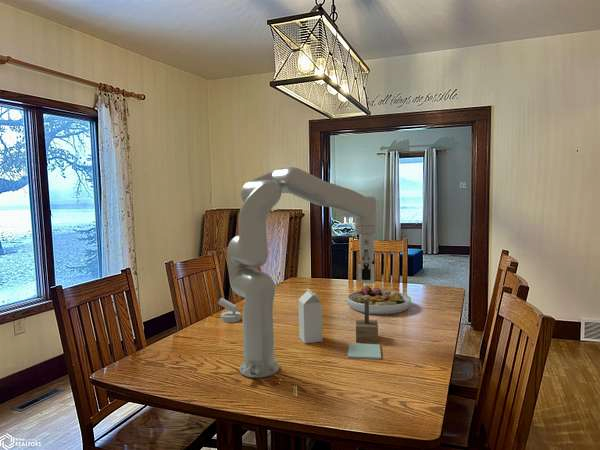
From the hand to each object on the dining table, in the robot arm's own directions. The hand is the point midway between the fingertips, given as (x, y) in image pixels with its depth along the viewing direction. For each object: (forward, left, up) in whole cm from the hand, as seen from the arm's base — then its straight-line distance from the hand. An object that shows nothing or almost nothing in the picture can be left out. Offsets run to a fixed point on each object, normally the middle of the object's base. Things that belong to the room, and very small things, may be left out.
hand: (366, 277), depth 157 cm
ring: (0, 0, -1) cm, 1 cm away
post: (0, 0, -23) cm, 23 cm away
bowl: (+44, -6, -24) cm, 51 cm away
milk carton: (-3, +21, -24) cm, 32 cm away
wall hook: (+19, +60, -24) cm, 67 cm away
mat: (-13, +1, -23) cm, 27 cm away
